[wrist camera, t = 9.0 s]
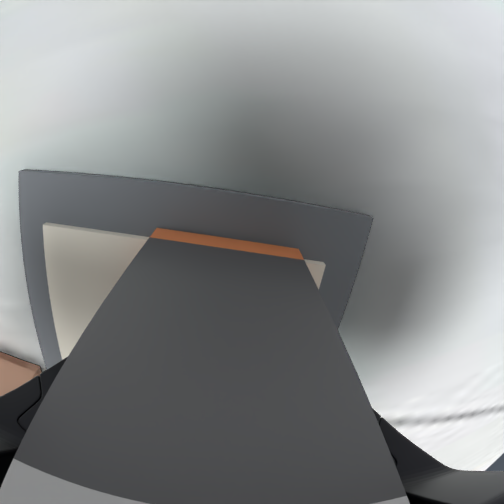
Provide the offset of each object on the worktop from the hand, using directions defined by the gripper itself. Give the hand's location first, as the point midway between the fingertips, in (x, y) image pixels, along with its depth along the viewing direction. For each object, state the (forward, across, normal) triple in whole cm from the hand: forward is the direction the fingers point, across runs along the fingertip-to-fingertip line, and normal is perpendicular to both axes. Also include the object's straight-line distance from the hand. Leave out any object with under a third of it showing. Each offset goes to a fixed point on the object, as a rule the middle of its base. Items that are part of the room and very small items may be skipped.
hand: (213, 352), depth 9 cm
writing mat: (+4, +2, +5) cm, 6 cm away
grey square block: (+3, 0, 0) cm, 3 cm away
